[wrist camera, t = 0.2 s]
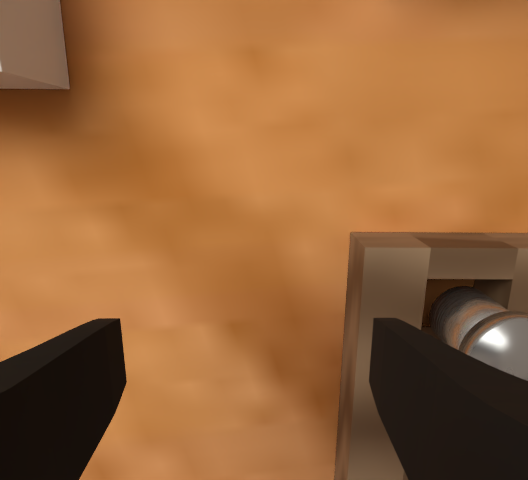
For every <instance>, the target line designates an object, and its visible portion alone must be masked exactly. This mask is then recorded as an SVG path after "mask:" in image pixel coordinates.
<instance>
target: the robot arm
mask: <svg viewBox="0 0 528 480" xmlns="http://www.w3.org/2000/svg"><path fill="white" fill-rule="evenodd" d="M126 382H127V381H126V371H125V362H124V352H123V342H122V333H121V323H120V319H96V320H92V321H90V322H87V323H85V324H82V325H80V326H78V327H76V328H74V329H71V330H69V331H67V332H65V333H63V334H61V335H59V336H57V337H55V338H52V339H50V340H48V341H46V342H44V343H42V344H40V345H38V346H36V347H34V348H31V349H29V350H27V351H25V352H22V353H20V354H18V355H15V356H13V357H11V358H9V359H6V360H4V361H2V362H0V480H79V478H80V477H81V475H82V473H83V471H84V469H85V467H86V466H87V464H88V462H89V460H90V458H91V457H92V455H93V453H94V451H95V449H96V448H97V446H98V444H99V442H100V440H101V438H102V437H103V435H104V433H105V431H106V429H107V427H108V426H109V424H110V422H111V420H112V418H113V416H114V414H115V412H116V409H117V407H118V404H119V402H120V399H121V396H122V393H123V391H124V388H125V385H126ZM369 384H370V387H371V391H372V394H373V398H374V401H375V404H376V407H377V411H378V414H379V416H380V418H381V421H382V423H383V425H384V427H385V429H386V432H387V434H388V436H389V438H390V441H391V443H392V445H393V447H394V449H395V451H396V454H397V456H398V458H399V460H400V462H401V465H402V467H403V469H404V471H405V473H406V475H407V478H408V480H528V381H527V380H524V379H521V378H519V377H516V376H514V375H511V374H509V373H506V372H504V371H502V370H499V369H497V368H495V367H492V366H490V365H488V364H486V363H484V362H482V361H480V360H477V359H475V358H473V357H471V356H469V355H467V354H465V353H463V352H461V351H459V350H457V349H455V348H453V347H451V346H449V345H448V344H446V343H444V342H442V341H440V340H438V339H436V338H435V337H433V336H431V335H429V334H427V333H425V332H424V331H422V330H420V329H418V328H416V327H414V326H412V325H410V324H409V323H407V322H405V321H402V320H400V319H397V318H373V332H372V345H371V358H370V371H369Z"/></svg>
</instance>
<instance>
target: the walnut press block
mask: <svg viewBox="0 0 528 480" xmlns="http://www.w3.org/2000/svg"><path fill="white" fill-rule="evenodd" d="M427 279H475V282H474V288H476V289H478V290H480V291H481V292H483V293H484V294H486V295H487V296H488V297H490V298H491V299H493V300H494V301H496V302H497V303H499V304H500V305H501V306H503V307H504V308H506V309H507V310H509V311H521V312H526V313H528V233H414V232H351V233H350V248H349V263H348V278H347V293H346V308H345V324H344V339H343V354H342V369H341V384H340V400H339V415H338V430H337V445H336V460H335V476H334V480H408V478H407V475H406V473H405V471H404V469H403V467H402V465H401V462H400V460H399V458H398V456H397V454H396V451H395V449H394V447H393V445H392V443H391V441H390V438H389V436H388V434H387V432H386V429H385V427H384V425H383V423H382V421H381V418H380V416H379V414H378V411H377V407H376V404H375V401H374V398H373V394H372V391H371V387H370V384H369V371H370V358H371V345H372V332H373V318H397V319H400V320H402V321H405V322H407V323H409V324H410V325H412V326H414V327H416V328H418V329H420V330H422V331H424V332H425V333H427V334H429V335H431V336H433V337H435V338H436V339H438V340H440V339H439V338H438V336H437V335H436V334H435V333H434V332H433V330H432V328H431V327H421V325H422V317H423V309H424V301H425V293H426V284H427ZM440 341H441V340H440Z"/></svg>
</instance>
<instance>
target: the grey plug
mask: <svg viewBox="0 0 528 480" xmlns="http://www.w3.org/2000/svg"><path fill="white" fill-rule="evenodd" d="M429 322H430V326H431V328H432V330H433V332H434V333H435V334H436V335H437V336H438V338H439V339H440V340H441V341H442V342H444V343H446V344H448V345H449V346H451V347H453V348H455V349H457V350H459V351H461V352H463V353H465V354H467V355H469V356H471V357H473V358H475V359H477V360H480V361H482V362H484V363H486V364H488V365H490V366H492V367H495V368H497V369H499V370H502V371H504V372H506V373H509V374H511V375H514V376H516V377H519V378H521V379H524V380H527V381H528V313H526V312H521V311H509V310H507V309H506V308H504V307H503V306H501V305H500V304H499V303H497V302H496V301H494V300H493V299H491V298H490V297H488V296H487V295H486V294H484V293H483V292H481V291H480V290H478V289H476V288H473V287H469V286H459V287H454V288H451V289H449V290H447V291H445V292H444V293H442V294H441V295H440V296H439V297H438V298H437V299H436V300H435V302H434V303H433V305H432V307H431V310H430V314H429Z"/></svg>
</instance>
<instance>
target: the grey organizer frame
mask: <svg viewBox="0 0 528 480" xmlns="http://www.w3.org/2000/svg"><path fill="white" fill-rule="evenodd" d="M0 89H70V85H69V76H68V67H67V58H66V50H65V41H64V32H63V23H62V14H61V5H60V0H0Z"/></svg>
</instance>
